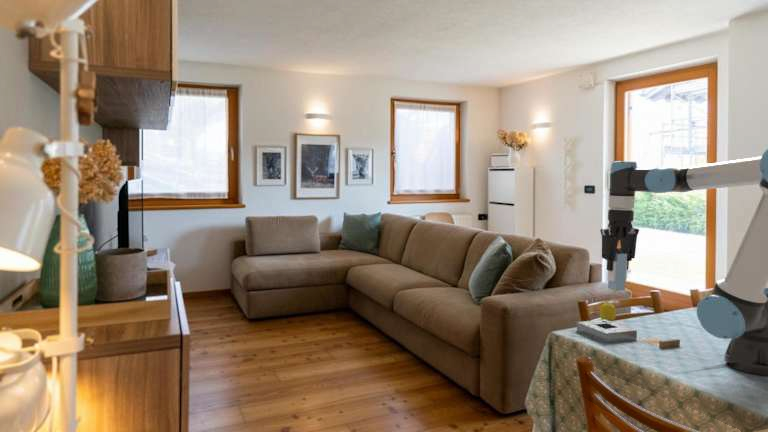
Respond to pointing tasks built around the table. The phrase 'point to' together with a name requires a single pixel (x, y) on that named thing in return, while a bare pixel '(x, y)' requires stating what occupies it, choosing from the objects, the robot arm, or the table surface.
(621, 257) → the grey square bottle
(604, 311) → the lemon
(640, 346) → the table surface
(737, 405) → the table surface
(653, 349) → the table surface
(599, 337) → the panel
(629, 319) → the table surface
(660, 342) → the holster
